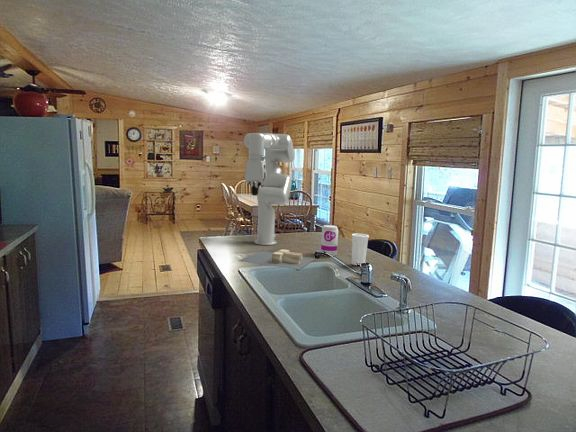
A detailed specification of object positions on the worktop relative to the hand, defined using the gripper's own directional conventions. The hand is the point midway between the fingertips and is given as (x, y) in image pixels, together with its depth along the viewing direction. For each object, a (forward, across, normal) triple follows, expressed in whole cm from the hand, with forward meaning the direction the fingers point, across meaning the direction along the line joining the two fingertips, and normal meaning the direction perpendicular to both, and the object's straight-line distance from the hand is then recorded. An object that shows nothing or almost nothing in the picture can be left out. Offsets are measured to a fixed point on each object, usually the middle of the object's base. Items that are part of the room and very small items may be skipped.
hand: (254, 195), depth 218 cm
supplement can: (+29, -36, -14) cm, 48 cm away
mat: (+29, -18, +10) cm, 36 cm away
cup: (+29, -54, -2) cm, 61 cm away
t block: (+29, -24, +10) cm, 39 cm away
